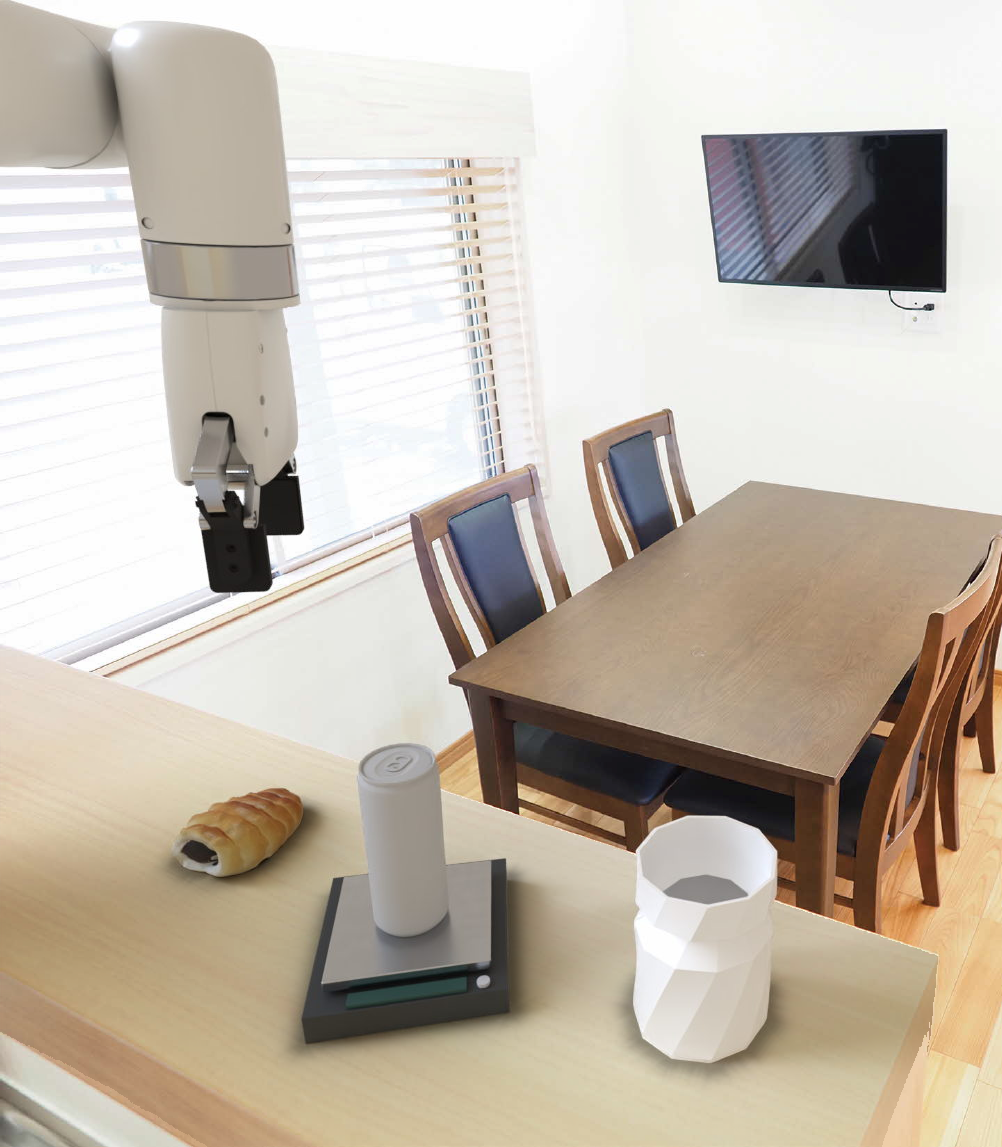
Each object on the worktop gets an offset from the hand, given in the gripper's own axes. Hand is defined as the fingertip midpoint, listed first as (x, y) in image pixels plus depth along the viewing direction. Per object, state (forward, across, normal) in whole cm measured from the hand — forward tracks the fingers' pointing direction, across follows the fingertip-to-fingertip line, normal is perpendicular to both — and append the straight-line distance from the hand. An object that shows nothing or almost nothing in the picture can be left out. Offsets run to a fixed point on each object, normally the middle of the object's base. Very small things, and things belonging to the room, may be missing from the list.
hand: (261, 560), depth 61 cm
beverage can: (+23, +7, +8) cm, 26 cm away
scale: (+26, +7, +8) cm, 28 cm away
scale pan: (+24, +7, +8) cm, 26 cm away
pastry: (+27, -7, -6) cm, 28 cm away
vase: (+26, +15, +26) cm, 40 cm away
